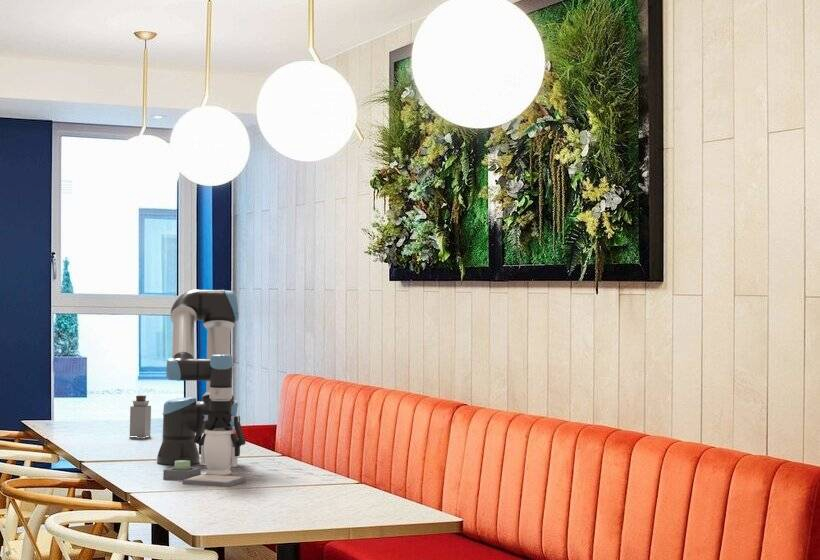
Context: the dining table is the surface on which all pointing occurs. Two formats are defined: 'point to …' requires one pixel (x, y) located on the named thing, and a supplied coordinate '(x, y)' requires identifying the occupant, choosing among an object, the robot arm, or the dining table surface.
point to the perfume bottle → (140, 417)
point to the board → (214, 480)
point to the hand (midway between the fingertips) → (219, 465)
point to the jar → (218, 451)
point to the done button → (182, 465)
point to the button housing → (180, 473)
